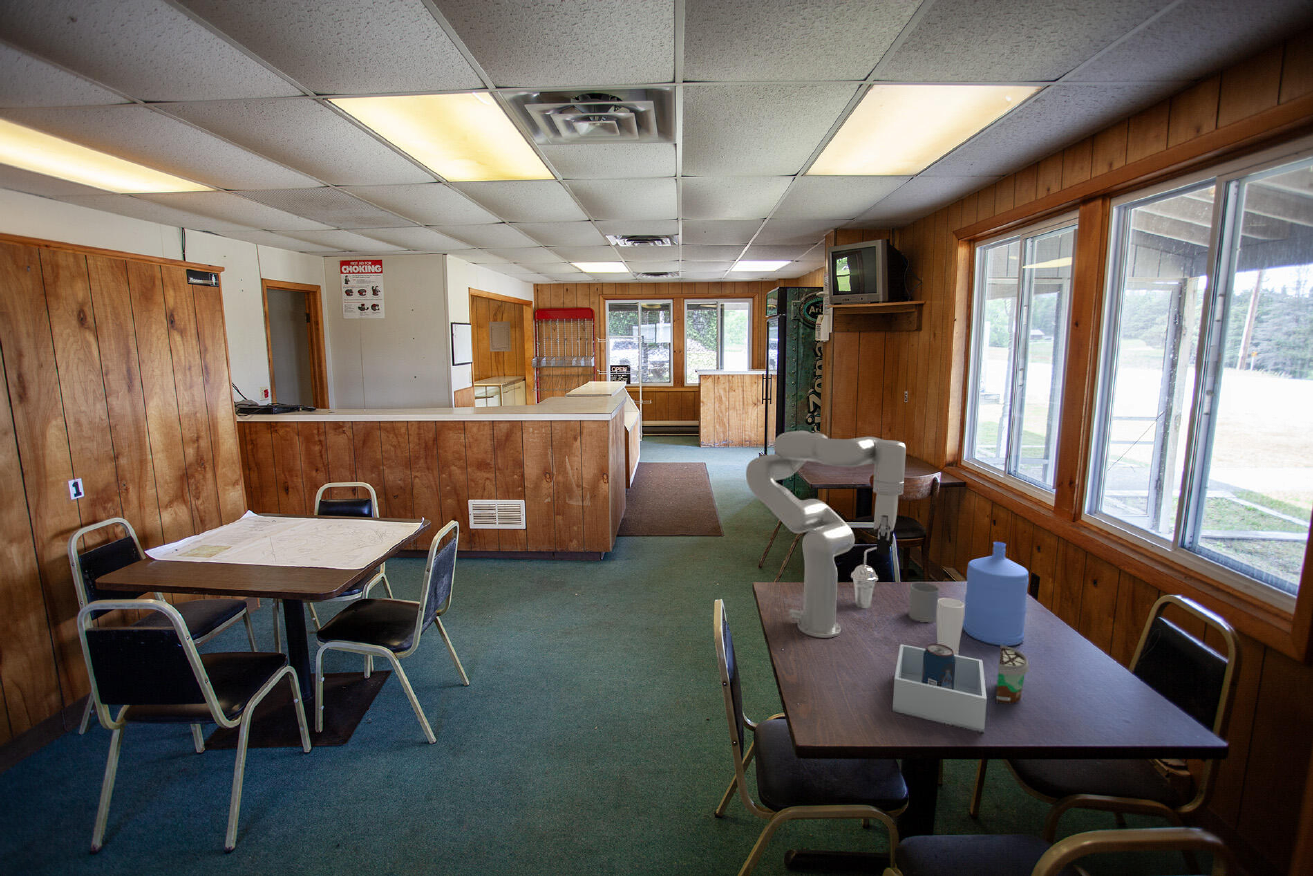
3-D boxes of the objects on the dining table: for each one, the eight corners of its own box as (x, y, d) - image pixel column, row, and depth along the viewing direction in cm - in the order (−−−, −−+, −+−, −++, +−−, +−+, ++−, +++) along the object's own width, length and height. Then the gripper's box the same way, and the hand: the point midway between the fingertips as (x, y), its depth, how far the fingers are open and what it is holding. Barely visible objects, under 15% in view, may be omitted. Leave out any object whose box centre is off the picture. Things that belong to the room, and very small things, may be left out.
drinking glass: (964, 661, 159) (968, 608, 157) (937, 659, 160) (940, 606, 158) (956, 649, 166) (960, 598, 164) (931, 647, 167) (934, 596, 165)
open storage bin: (892, 711, 136) (894, 678, 135) (898, 673, 153) (900, 644, 152) (983, 733, 128) (986, 699, 127) (980, 690, 145) (982, 660, 144)
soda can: (928, 685, 146) (931, 639, 144) (957, 696, 141) (961, 649, 139) (915, 695, 141) (918, 648, 140) (945, 708, 136) (949, 659, 135)
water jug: (1012, 653, 164) (1020, 556, 160) (954, 633, 175) (960, 542, 172) (1031, 635, 174) (1039, 544, 170) (974, 618, 185) (981, 532, 182)
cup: (939, 615, 188) (941, 585, 186) (935, 625, 181) (937, 594, 179) (911, 609, 192) (912, 580, 191) (906, 618, 185) (908, 588, 184)
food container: (1026, 713, 136) (1029, 672, 134) (995, 704, 139) (998, 665, 138) (1026, 688, 146) (1029, 650, 145) (997, 681, 149) (1000, 643, 148)
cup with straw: (848, 599, 200) (850, 542, 198) (876, 601, 198) (878, 544, 196) (851, 609, 192) (853, 550, 189) (880, 612, 190) (883, 552, 188)
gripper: (877, 479, 166) (873, 538, 169) (869, 492, 151) (865, 556, 153) (905, 482, 163) (902, 541, 165) (900, 495, 148) (896, 560, 150)
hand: (884, 548), depth 159 cm, fingers open, 9 cm apart
